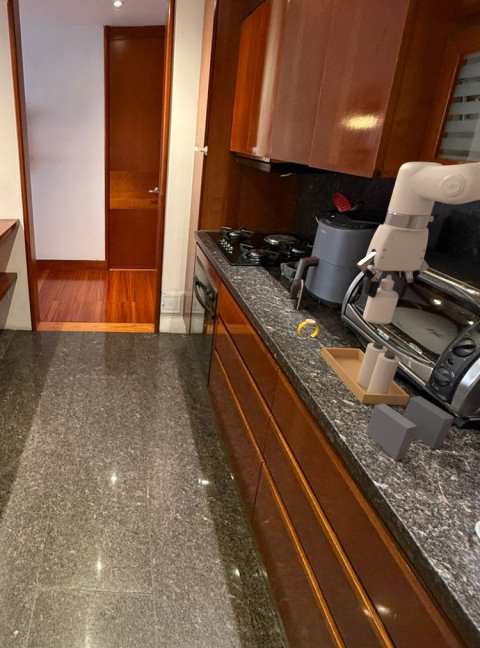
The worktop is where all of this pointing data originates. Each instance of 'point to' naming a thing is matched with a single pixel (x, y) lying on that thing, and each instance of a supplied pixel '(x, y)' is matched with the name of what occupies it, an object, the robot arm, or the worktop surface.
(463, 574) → the worktop surface
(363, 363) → the white bottles
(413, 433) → the grey rectangular blocks
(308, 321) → the watch
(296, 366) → the worktop surface
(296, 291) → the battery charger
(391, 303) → the eye dropper bottle
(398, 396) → the tray
